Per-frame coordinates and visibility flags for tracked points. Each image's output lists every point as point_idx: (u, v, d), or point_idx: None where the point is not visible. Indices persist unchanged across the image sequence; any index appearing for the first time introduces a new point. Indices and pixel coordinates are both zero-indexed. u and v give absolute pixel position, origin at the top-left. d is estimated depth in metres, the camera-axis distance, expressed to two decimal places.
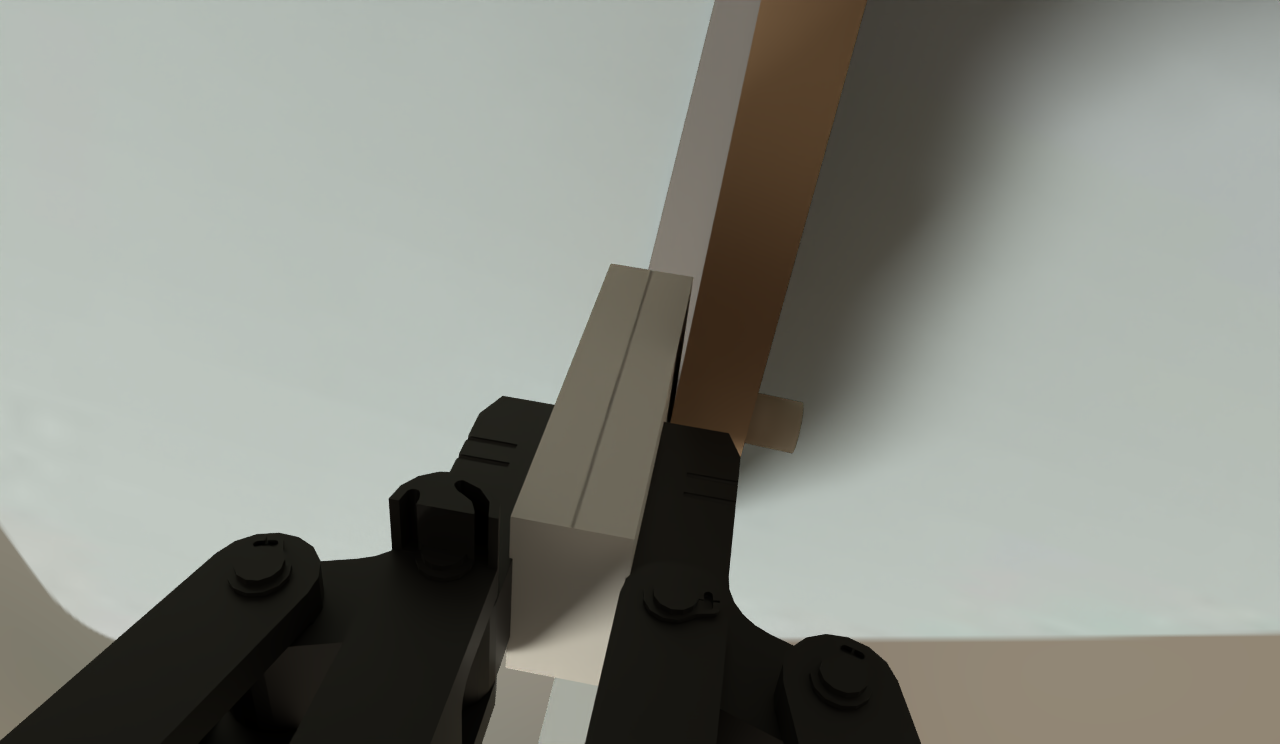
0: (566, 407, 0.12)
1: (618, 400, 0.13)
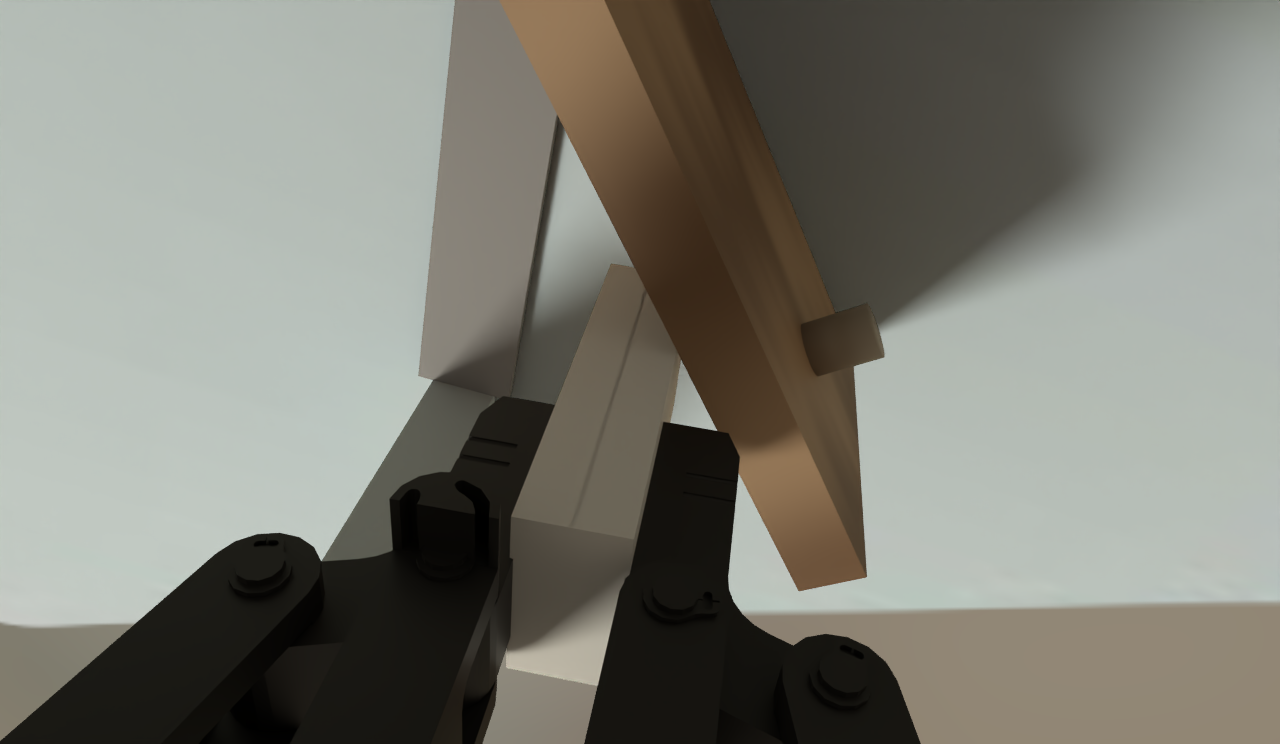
0: (566, 407, 0.12)
1: (618, 400, 0.13)
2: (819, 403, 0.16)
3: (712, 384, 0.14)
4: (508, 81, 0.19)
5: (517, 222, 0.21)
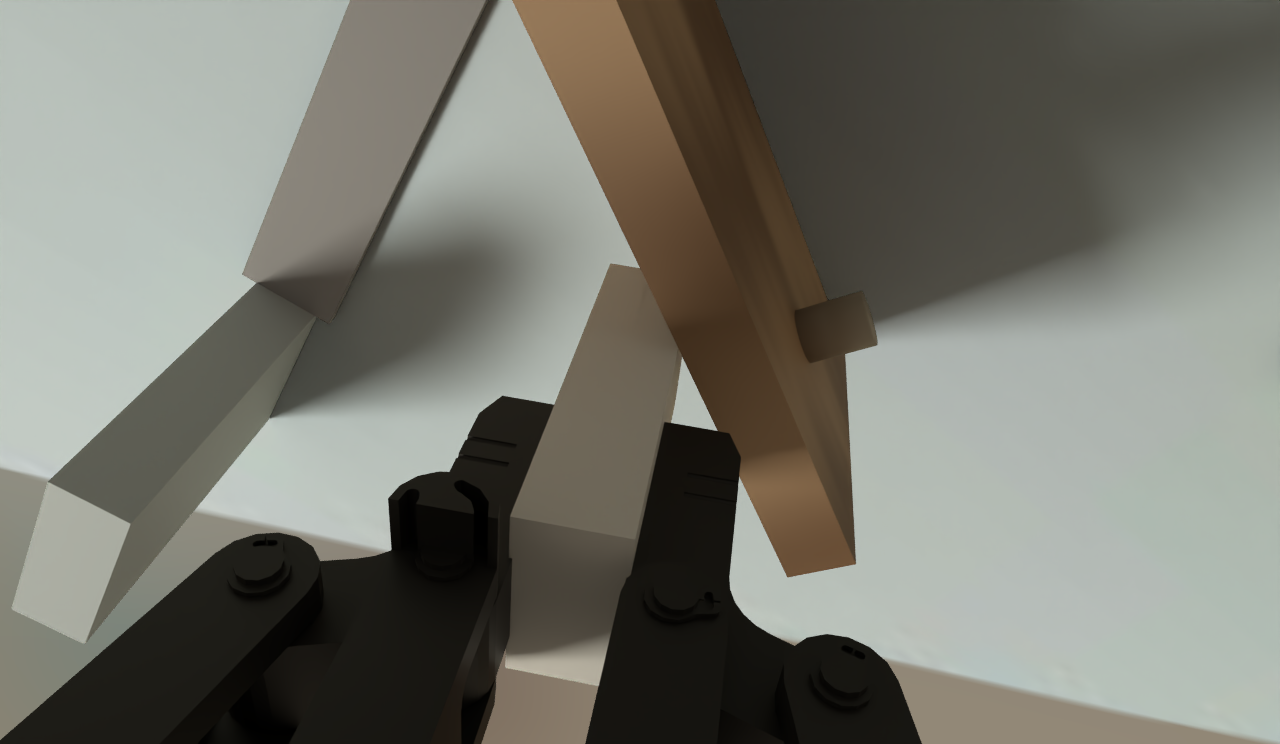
0: (565, 407, 0.12)
1: (619, 400, 0.13)
2: (811, 390, 0.16)
3: (706, 367, 0.14)
4: (413, 20, 0.19)
5: (386, 157, 0.21)
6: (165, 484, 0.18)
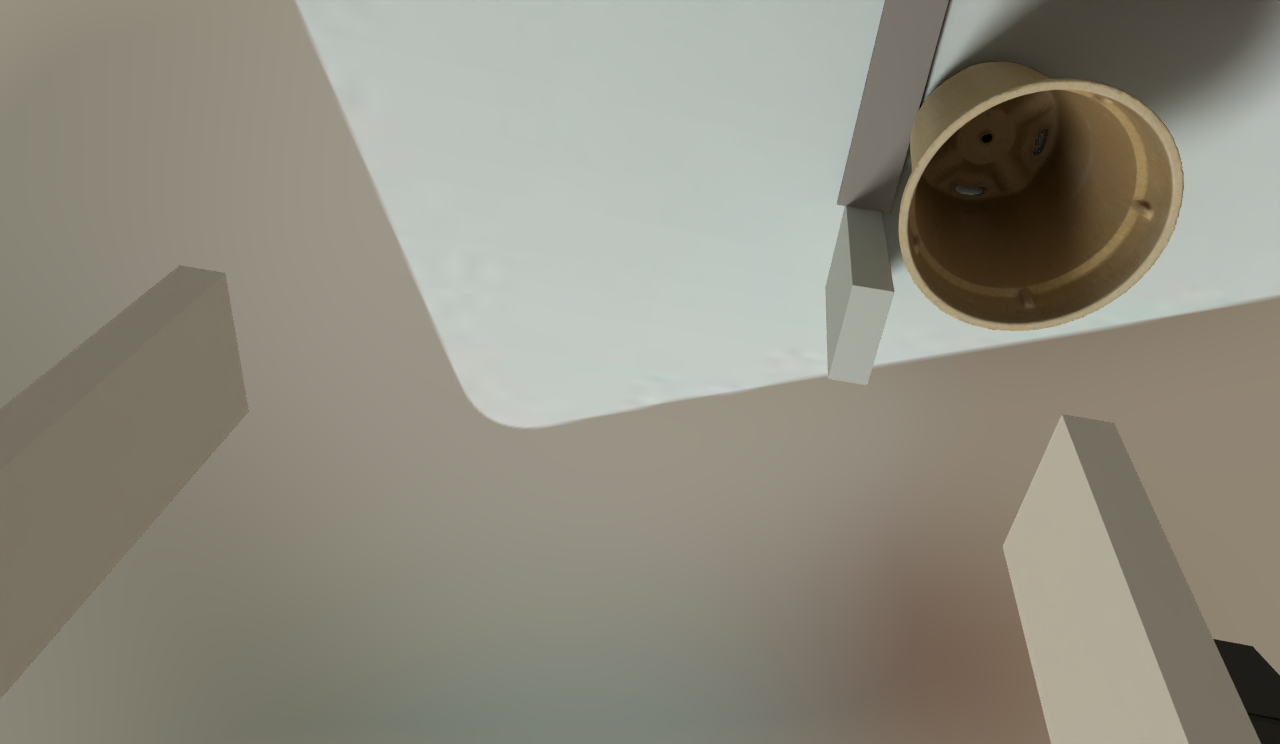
0: None
1: (1150, 620, 0.10)
2: None
3: None
4: (913, 23, 0.37)
5: (909, 101, 0.39)
6: (891, 278, 0.37)
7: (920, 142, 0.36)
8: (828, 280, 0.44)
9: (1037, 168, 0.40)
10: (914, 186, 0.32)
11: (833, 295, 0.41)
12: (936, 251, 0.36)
